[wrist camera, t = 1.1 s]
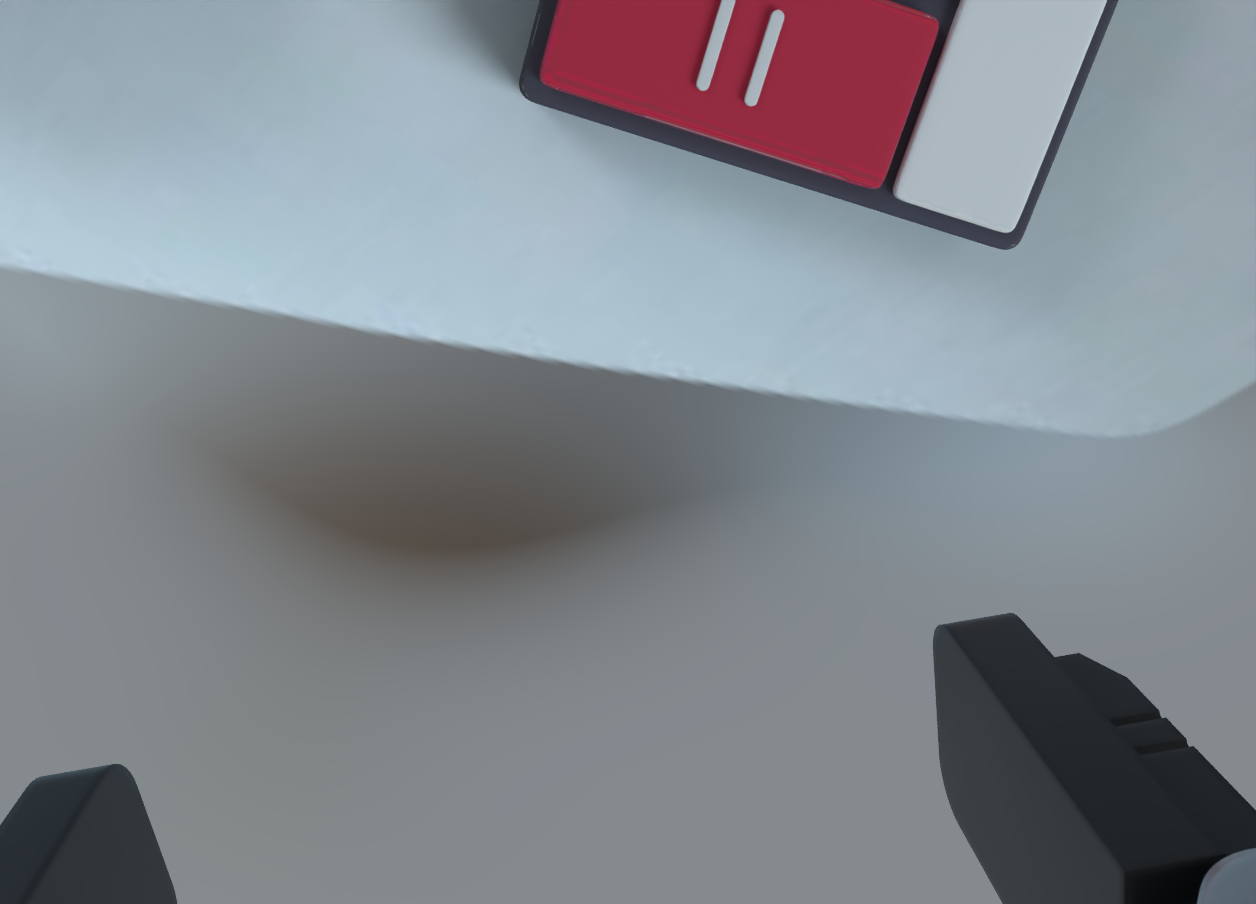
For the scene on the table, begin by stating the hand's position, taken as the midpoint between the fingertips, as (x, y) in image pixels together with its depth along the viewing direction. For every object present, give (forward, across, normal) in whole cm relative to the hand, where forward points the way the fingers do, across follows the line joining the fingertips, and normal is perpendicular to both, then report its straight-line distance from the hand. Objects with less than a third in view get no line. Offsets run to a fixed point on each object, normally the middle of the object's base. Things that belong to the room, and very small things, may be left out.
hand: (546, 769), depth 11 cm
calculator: (+26, -10, -8) cm, 28 cm away
